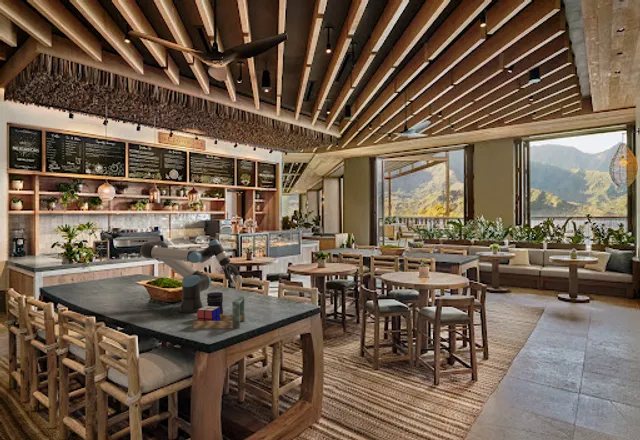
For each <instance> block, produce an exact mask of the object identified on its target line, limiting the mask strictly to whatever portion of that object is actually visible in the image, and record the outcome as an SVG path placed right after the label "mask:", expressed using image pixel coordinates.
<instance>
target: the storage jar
mask: <svg viewBox="0 0 640 440" xmlns="http://www.w3.org/2000/svg"><path fill="white" fill-rule="evenodd" d="M206 297H207V299H206V300H207V301H206V303H207V306H212V307H213V306H214V307H220V315H224V309H223V302H224V296H223V292H219V291H217V292H215V291H214V292H209V293H207V295H206Z"/></svg>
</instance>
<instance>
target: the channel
mask: <svg viewBox="0 0 640 440" xmlns="http://www.w3.org/2000/svg"><path fill="white" fill-rule="evenodd" d="M231 305H232V314H223V315H220V321H197V320H194V321H192V329H241V322H245V296H237V297H236V298H235V299H234V300H233V301H232V304H231Z"/></svg>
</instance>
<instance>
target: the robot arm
mask: <svg viewBox="0 0 640 440" xmlns="http://www.w3.org/2000/svg"><path fill="white" fill-rule="evenodd" d="M207 245H208V246H207V247H205V248H204V249H202V250H197V251H196V250H188V249H179V248H171V247H170V248H169V245H168V243H166V241H160V240H155V241H150V242H149V241H147V242H145V243H144V244H142V245H141V247H140V251H139V252H140V254H141V256H142V257H143V258H145V259H152V260H157V262H163V264H165V265H166V266H167V267H169V268H170V269H172V270H173V271H174V272H175V273H177V274H178V275H180V277H182V281H181V282H182V283H181V286H182V287H181V289H182V291H181V293H182V294H181V295H182V301H181V304H180V305H179V312H180V313H183V314H189V313H190V314H192V313H197V310H198V309H200V308H202V307H204V306H203V302H202V300H201V293H202V292H204V291H207V290H208V289H209V288H210V287H211V283H212V281H211V280H212V279H211V276H210V275H208V274H207V273H202V272H201V271H200V270H195V269H193V268H192V267H190V266H189V265H188V264H186V263H185V262H189V263H191V264H197V263H201V264H203V263H205V262H207V261H208V260H209V259H211V258H212V257H214V256H215V258H216V260H217V262H218V263H219V266H220V267H221V269H222V271H223V274H224V277H225V280H226V281H228V282H229V283H230V284H231V285H230V286H232V288H234V287H236V286H237V284H236V282H235V280H234V278H233V277H232V275H231V273H232V274H233V275H234V276H235V278H236V280H237V281H238V283H239V284H240V285H241V284H243V283H244V280H243V278H242V277H241V275H240V274H241V273H240V271H239V270H238V269H237V268H236V267H235V266H234V264H233V263H232V262H231V259H230V257H229V256H228V254H227V252H226V251H225V249H224V247H223V246H222V244H221V243H220V240H218V239H217V238H215V239H213V240H210V241H209V242H208V243H207ZM230 262H231V263H230Z"/></svg>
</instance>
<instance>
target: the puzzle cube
mask: <svg viewBox="0 0 640 440" xmlns="http://www.w3.org/2000/svg"><path fill="white" fill-rule="evenodd" d="M196 317H197V318H196V321H220V307H214V306H213V307H212V306H208V305H205V306H203V307H202V308H200V309H198V310H197V312H196Z"/></svg>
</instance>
